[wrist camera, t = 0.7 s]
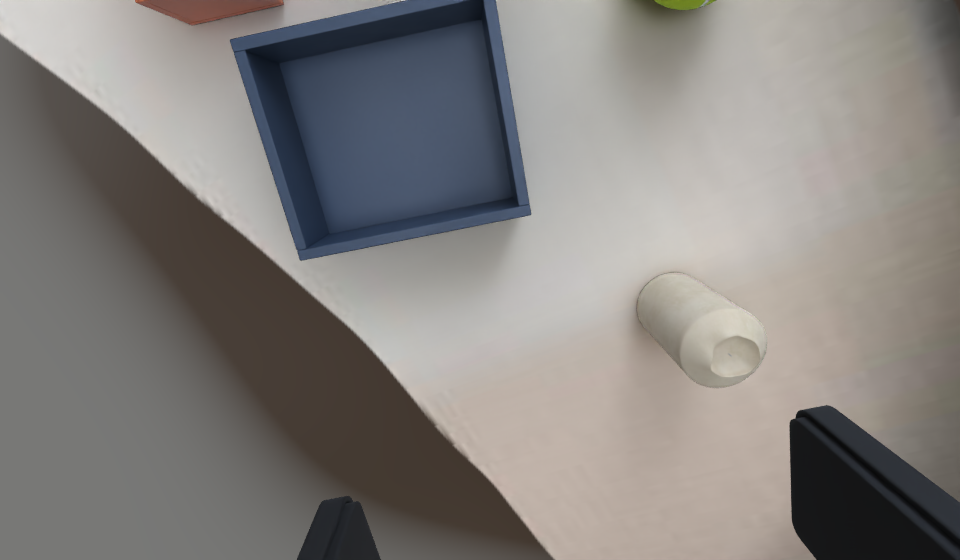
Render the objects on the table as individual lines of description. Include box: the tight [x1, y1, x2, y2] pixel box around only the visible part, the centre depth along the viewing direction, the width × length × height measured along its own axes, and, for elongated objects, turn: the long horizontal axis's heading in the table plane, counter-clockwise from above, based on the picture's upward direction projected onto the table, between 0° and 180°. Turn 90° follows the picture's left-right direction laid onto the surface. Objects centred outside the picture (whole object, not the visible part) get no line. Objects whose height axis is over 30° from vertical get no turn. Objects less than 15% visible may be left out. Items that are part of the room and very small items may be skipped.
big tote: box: [230, 0, 531, 261], centre depth 31 cm, size 13×15×6 cm
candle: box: [637, 272, 767, 388], centre depth 33 cm, size 6×6×10 cm
